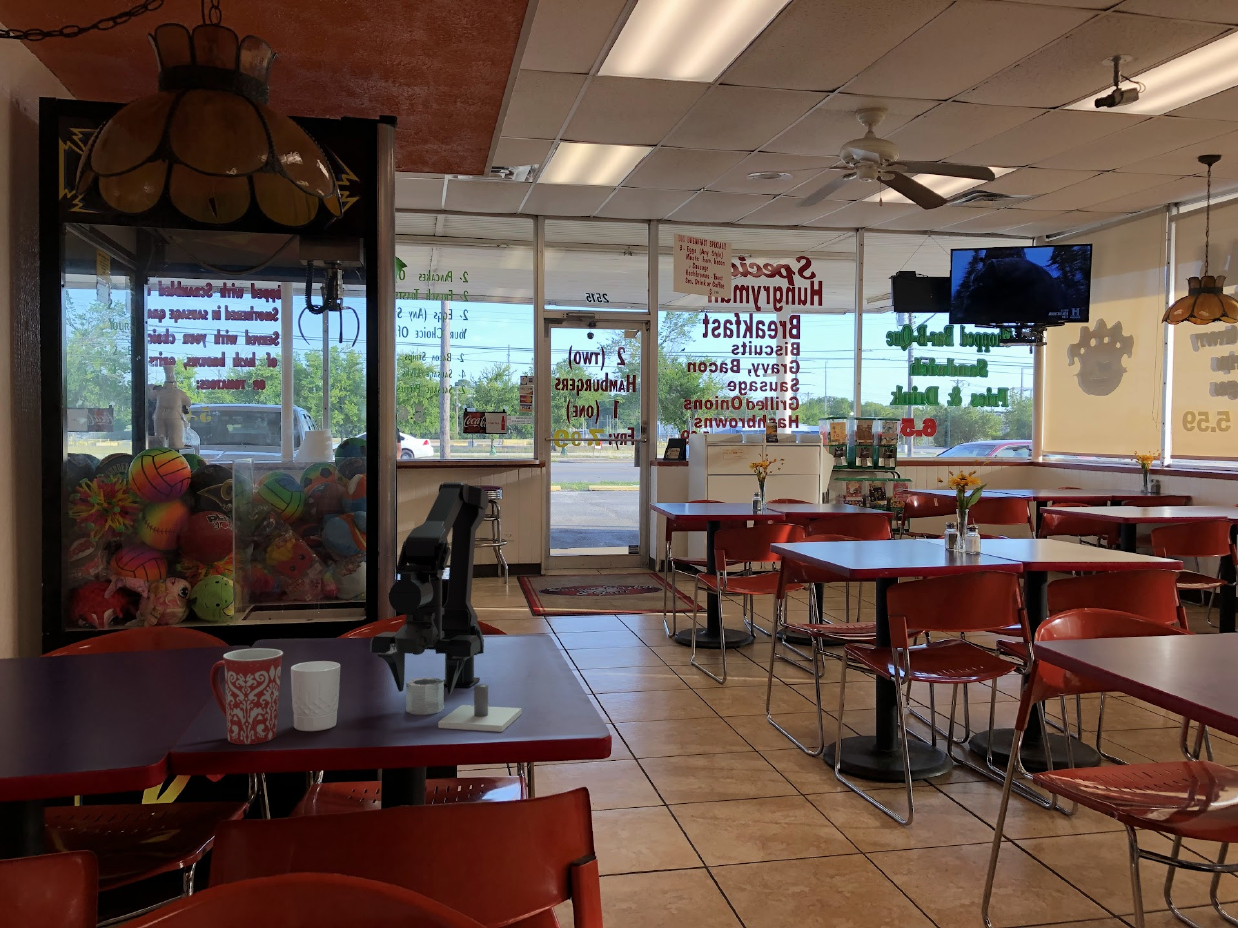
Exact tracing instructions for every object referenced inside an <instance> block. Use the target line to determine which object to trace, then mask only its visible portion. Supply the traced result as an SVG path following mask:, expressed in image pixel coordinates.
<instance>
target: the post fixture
mask: <svg viewBox="0 0 1238 928" xmlns="http://www.w3.org/2000/svg"><path fill="white" fill-rule="evenodd" d="M521 715H522V708H521V707H506V706H505V707H504V706H489V684H487V683H478V684H477V683H476V684H474V685H473V705H468V704H467V705H466V704H461V705H460V706H459V707H456V708H455V709H454V710H453V711H451V712H450V713H449V714H447V715H446V716H445V717H443V718H442V719H441V720H439V721H438V726H437V727H438V729H448V730H449V729H454V730H465V731H466V730H467V731H469V730H470V731H481V732H482V731H483V732H499V733H502V732H504V730H506V729H507V728H508V727H509V726H511V724H512V723H514V722H515V720H517V719H518V718H519V717H520V716H521Z"/></svg>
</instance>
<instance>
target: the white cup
mask: <svg viewBox="0 0 1238 928" xmlns="http://www.w3.org/2000/svg"><path fill="white" fill-rule="evenodd" d="M340 679H341V664H340V663H339V662H335V661H330V660H328V661H327V660H321V661H320V660H319V661H318V660H317V661H307V662H300V663H297V664H294V665H292V666H291V667H290V683H291V699H292V700H291V701H292V703H291V704H292V705H291V706H292V711H293V727H294V728H295V729H296V730H298V731H301V732H317V731H323V730H328V729H329V730H330V729H332V728H334V727H335V726H336V725H337V722H338V719H337V718H338V717H337V716H338V709H339V697H340Z"/></svg>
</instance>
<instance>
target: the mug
mask: <svg viewBox="0 0 1238 928" xmlns="http://www.w3.org/2000/svg"><path fill="white" fill-rule="evenodd" d="M283 656H284V651H282V650H281V649H276V648H263V647H262V648H261V647H260V648H246V649H245V648H244V649H236V650H233V651H229V652H227V653H224V654H223V656H222V659H223V660H219V661H217V662H215V663H214V664H213V665H212V667H211V669H210V677H209V682H210V683H209V684H210V688H211V692H212V694H213V697H214V698H215V701H216V703H217V705H218V708H219V709H220V711H221V712H222V714H223V715H224V717H225V719H226V733H227V735H226V736H227V741H228V742H229V743H231V744H235V745H254V744H255V745H256V744H261V743H265V742H269V741H271V740H274V739H275V738H276V737H277V730H278V715H279V714H278V713H279V701H280V700H279V699H280V687H281V686H280V684H281V671H282V661H283V660H282V658H283ZM222 667H224V681H225V683H224V686H225V694H224V692H223V689H222V686H221V682H220V681H221V680H220V671H221V668H222Z"/></svg>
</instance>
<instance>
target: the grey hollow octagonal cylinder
mask: <svg viewBox="0 0 1238 928" xmlns="http://www.w3.org/2000/svg"><path fill="white" fill-rule="evenodd" d="M405 686H406V687H405V692H406V695H405V696H406V699H405V701H406V708H405V711H406V712H407V713H409V714H410V715H421V716H422V715H423V716H427V715H434V714H438V713H441V711H443V710H444V708H445V706H444V705H445V704H444V700H445V699H444V698H445V697H444V694H445V689H444V688H445V686H444V681H443V680H442V679H440V678H438V677H437V678H435V677H434V678H433V677H420V678H413V679H411V680H409V681H407V682H406V685H405Z"/></svg>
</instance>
